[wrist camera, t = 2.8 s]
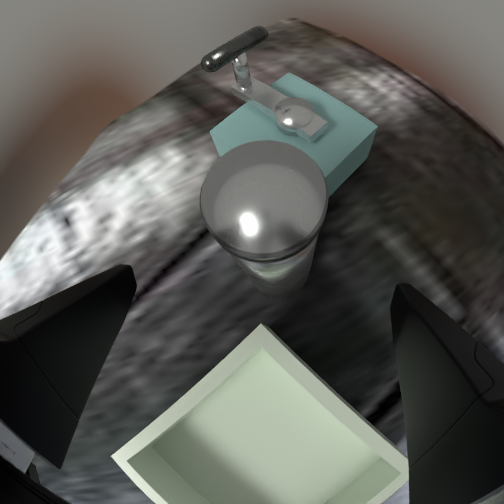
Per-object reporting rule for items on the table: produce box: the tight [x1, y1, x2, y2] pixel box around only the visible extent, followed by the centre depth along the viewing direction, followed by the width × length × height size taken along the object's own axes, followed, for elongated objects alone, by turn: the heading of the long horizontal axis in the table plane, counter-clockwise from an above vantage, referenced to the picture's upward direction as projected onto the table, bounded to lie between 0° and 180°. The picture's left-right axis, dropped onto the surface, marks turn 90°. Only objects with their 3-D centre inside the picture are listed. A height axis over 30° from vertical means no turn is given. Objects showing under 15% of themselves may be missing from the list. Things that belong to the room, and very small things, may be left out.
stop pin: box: [200, 140, 328, 299], centre depth 15 cm, size 4×4×11 cm
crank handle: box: [201, 26, 328, 144], centre depth 16 cm, size 7×5×5 cm
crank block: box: [210, 73, 378, 198], centre depth 20 cm, size 8×8×4 cm
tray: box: [111, 324, 409, 504], centre depth 14 cm, size 13×13×4 cm
